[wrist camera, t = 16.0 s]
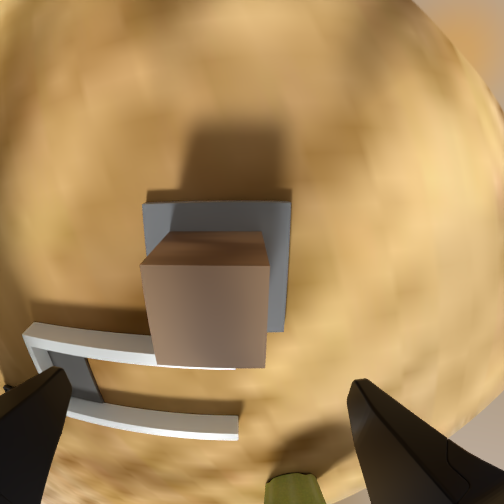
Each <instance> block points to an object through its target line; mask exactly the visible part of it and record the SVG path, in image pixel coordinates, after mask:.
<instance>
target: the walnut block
mask: <svg viewBox="0 0 504 504" xmlns="http://www.w3.org/2000/svg"><path fill="white" fill-rule="evenodd" d="M140 270H141V278H142V285H143V292H144V298H145V304H146V311H147V316H148V322H149V327H150V333H151V338H152V343H153V348H154V353H155V357H156V362H157V365H169V366H184V367H204V368H265V359H266V341H267V321H268V300H269V277H270V264H269V260H268V256H267V252H266V247H265V243H264V239H263V235H262V231H169V233H168V234H167V235H166V236H165V237H164V238H163V239H162V240H161V241H160V242H159V244H158V245H157V246H156V247H155V248H154V249H153V250H152V251H151V253H150V254H149V255H148V256H147V257H146V258H145V259H144V261H143V262H142V263H141V264H140Z"/></svg>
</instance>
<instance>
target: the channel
mask: <svg viewBox="0 0 504 504" xmlns="http://www.w3.org/2000/svg"><path fill="white" fill-rule="evenodd" d="M22 337H23V339H24V342H25V344H26V347H27V349H28V351H29V354H30V356H31V358H32V360H33V362H34V365H35V367H36V369H37V371H38V373H41V372H43V371H45V370H46V369H48V368H50V367H52V366H56V367H61V368H63V369H64V370H65V372H66V374H67V376H68V379H69V381H70V383H71V385H72V395H71V399H70V402H69V406H68V410H67V414H66V416H68V417H72V418H75V419H79V420H83V421H86V422H90V423H95V424H99V425H103V426H108V427H112V428H117V429H123V430H128V431H134V432H140V433H146V434H153V435H161V436H169V437H179V438H190V439H206V440H238V416H227V415H200V414H185V413H173V412H163V411H154V410H146V409H139V408H132V407H126V406H120V405H114V404H109V403H103V402H104V401H103V398H102V396H101V394H100V391H99V389H98V387H97V384H96V382H95V380H94V377H93V375H92V372H91V370H90V367H89V364H88V362H87V359H86V358H93V359H99V360H106V361H113V362H121V363H129V364H138V365H148V366H160V367H173V368H190V369H218V370H236V368H204V367H184V366H169V365H157V362H156V357H155V353H154V348H153V343H152V338H151V336H149V335H136V334H124V333H113V332H104V331H95V330H86V329H78V328H71V327H64V326H57V325H51V324H44V323H38V322H33V323H32V324H31V325H30V326H29V327H28V328H27V329H26V331H25V332H24V333H23V334H22Z"/></svg>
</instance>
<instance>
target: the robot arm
mask: <svg viewBox="0 0 504 504" xmlns="http://www.w3.org/2000/svg"><path fill="white" fill-rule="evenodd" d="M3 388H4V390H5V392H6V393H4V394H2V395H0V504H41V500H42V496H43V492H44V488H45V484H46V481H47V477H48V473H49V470H50V467H51V463H52V460H53V457H54V454H55V451H56V448H57V445H58V442H59V439H60V436H61V434H62V430H63V426H64V422H65V418H66V414H67V410H68V406H69V402H70V399H71V395H72V385H71V383H70V381H69V379H68V376H67V374H66V372H65V370H64V369H63V368H61V367H56V366H52V367H50V368H48V369H46V370H45V371H43V372H41V373H39V374H38V375H36V376H34V377H32V378H30V379H29V380H27V381H25V382H23V383H22V384H20V385H18V386H16V387H15V388H13V387H10V386H8V385H4V387H3ZM347 408H348V413H349V418H350V424H351V430H352V435H353V441H354V446H355V450H356V453H357V456H358V460H359V463H360V466H361V470H362V473H363V477H364V480H365V483H366V487H367V490H368V494H369V497H370V501H371V504H504V471H503V470H501V469H499V468H497V467H495V466H493V465H491V464H489V463H487V462H485V461H483V460H481V459H480V458H478V457H476V456H474V455H473V454H471V453H469V452H467V451H466V450H464V449H463V448H461V447H460V446H458V445H457V444H455V443H454V442H453V441H451V440H450V439H447V437H445V436H444V435H443V434H441V433H440V432H438V431H437V430H436V429H434V428H433V427H431V426H430V425H429V424H427V423H426V422H425V421H423V420H422V419H420V418H419V417H418V416H416V415H415V414H414V413H412V412H411V411H410V410H408V409H407V408H405V407H404V406H403V405H401V404H400V403H399V402H397V401H396V400H395V399H393V398H392V397H391V396H389V395H388V394H387V393H385V392H384V391H383V390H381V389H380V388H379V387H377V386H376V385H375V384H373V383H372V382H371V381H369V380H368V379H365V378H364V379H357V380H354V381H353V382H352V384H351V388H350V391H349V394H348V397H347Z"/></svg>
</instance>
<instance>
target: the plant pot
mask: <svg viewBox="0 0 504 504" xmlns="http://www.w3.org/2000/svg"><path fill="white" fill-rule="evenodd" d="M264 504H326V502H325V500H324V497H323V495H322V492H321V490H320V487H319V484H318V482H317V479H316V477H315V476H314V475H312V474H308V475H303V474H300V473H291V474H286V475H282V476H278V477H276V478H273V479H272V480H271V481H270V482H269V483H266V486H265V498H264Z"/></svg>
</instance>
